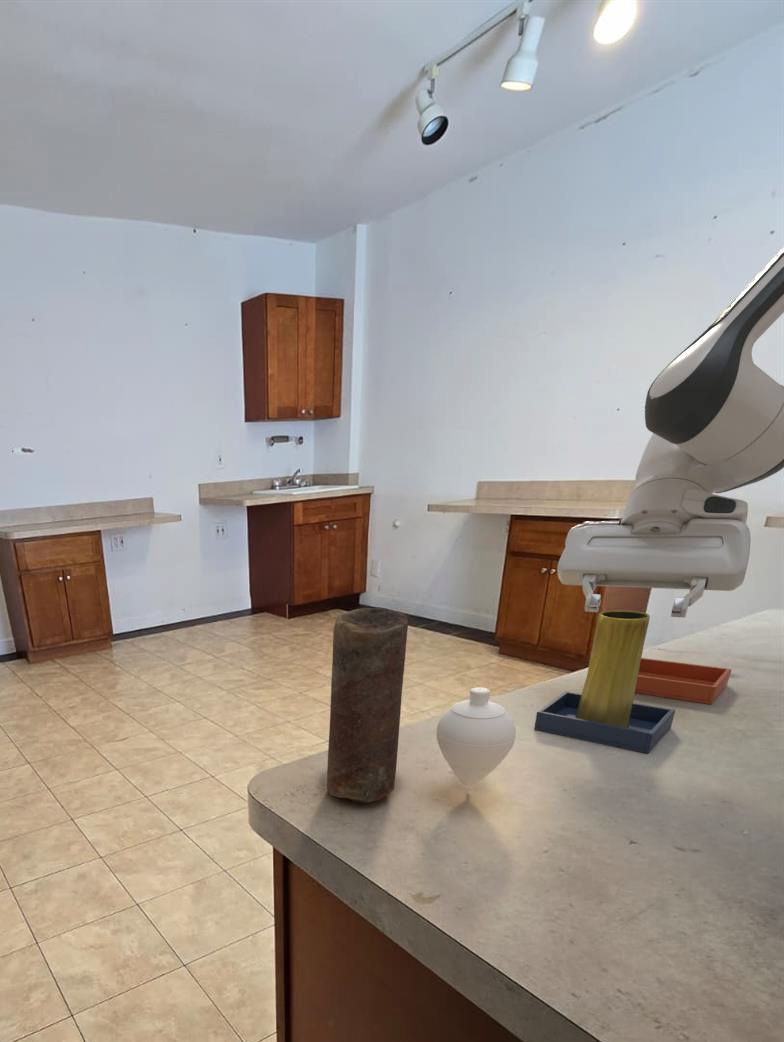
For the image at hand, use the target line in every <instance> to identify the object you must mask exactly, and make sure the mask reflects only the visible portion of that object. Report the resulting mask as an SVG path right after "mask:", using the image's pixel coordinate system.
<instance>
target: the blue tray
mask: <svg viewBox="0 0 784 1042" xmlns="http://www.w3.org/2000/svg"><path fill="white" fill-rule="evenodd" d="M581 696H582V693H578V692H571V691H564V692H562V693H561V694H559V695H558V696H557V697H555V698H554V699H553V700H551V701H550V702H549V703H547V704H546V705H544V706H543V707H542V708H540V709H539V710H538V711H536V715H535V722H534V730H535V731H539V732H545V733H549V734H553V735H558V736H564V737H567V738H572V739H577V740H582V741H587V742H591V743H596V744H601V745H606V746H611V747H616V748H621V749H624V750H630V751H634V752H639V753H644V754H650V752H651V751H652V750H653V749H654V748H655V746H656V745H657V744H658V743H659V742H660V741H661V740H662V739H663V737H664V736H665V735H666V734H667V733H668V732H669V730H671V728H672V724H673V721H674V717H675V713H676V709H673V708H666V707H662V706H655V705H649V704H644V703H638V702H633V704H632V710H631V714H630V718H629V728H625V727H620V726H614V725H609V724H604V723H599V722H594V721H588V720H583V719H578V718H575V717H576V714H577V711H578V707H579V703H580V699H581Z"/></svg>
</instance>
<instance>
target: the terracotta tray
mask: <svg viewBox="0 0 784 1042" xmlns="http://www.w3.org/2000/svg"><path fill="white" fill-rule="evenodd" d="M731 673H732V668H726V667H719V666H711V665H702V664H693V663H687V662H680V661H679V662H678V661H670V660H661V659H653V658H647V657H641V662H640V667H639V672H638V677H637V683H636V688H635V694H642V695H649V696H656V697H660V698H667V699H675V700H681V701H687V702H692V703H693V702H694V703H699V704H704V705H705V704H706V705H712V704H713V703H714V702H715V701H716V700H717V698H718V697H719V696H720V694H721V693H722V692H724V690H725V688H726V687H727V686H728V683H729V679H730V676H731Z"/></svg>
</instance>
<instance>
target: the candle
mask: <svg viewBox="0 0 784 1042" xmlns="http://www.w3.org/2000/svg"><path fill="white" fill-rule="evenodd" d="M408 629H409V620H408V617H407V615H406V614H405V613H403V612H402V611H399V610H394V609H389V608H384V607H365V608H363V607H362V608H361V607H360V608H356V609H353V610H349V611H347V612H346V613H343V614H340V615H339V616H338V617H337V618H336V620H335V622H334V626H333V632H332V634H333V635H332V637H333V639H332V662H331V663H332V665H331V679H330V680H331V683H330V685H331V686H330V708H329V710H330V711H329V712H330V713H329V729H328V730H329V732H328V750H327V769H326V770H327V771H326V789H327V793H329V794H330V795H331V796H333V797H337V798H341V799H343V798H344V799H349V800H350V801H352V802H354V803H361V804H368V803H369V804H370V803H371V802H375V801H379V800H382V799H383V798H384V797H386V796H389V795H390V794H391V793H393V791H394V790H395V784H396V774H397V763H398V749H399V737H400V725H401V715H402V714H401V712H402V711H401V710H402V698H403V697H402V696H403V695H402V694H403V685H404V674H405V665H406V664H405V663H406V662H405V661H406V652H407V640H408Z"/></svg>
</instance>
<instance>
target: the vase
mask: <svg viewBox="0 0 784 1042" xmlns="http://www.w3.org/2000/svg"><path fill="white" fill-rule="evenodd" d="M650 617H651V616H650V614H649V613H647V612H643V611H639V610H630V609H610V610H603V611H601V612H599V614H598V615H597V620H596V625H595V631H594V636H593V643H592V647H591V652H590V655H589V663H588V669H587V675H586V678H585V682H584V685H583V688H582V693H581V694H582V696H581V699H580V703H579V707H578V711H577V714H576V717H575V718H578V719H583V720H588V721H594V722H599V723H604V724H609V725H614V726H620V727H625V728H629V718H630V714H631V710H632V704H633V703H634V699H635V694H636V693H635V688H636V683H637V677H638V672H639V667H640V662H641V658H642V655H643V651H644V646H645V641H646V636H647V632H648V627H649V623H650Z"/></svg>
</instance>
